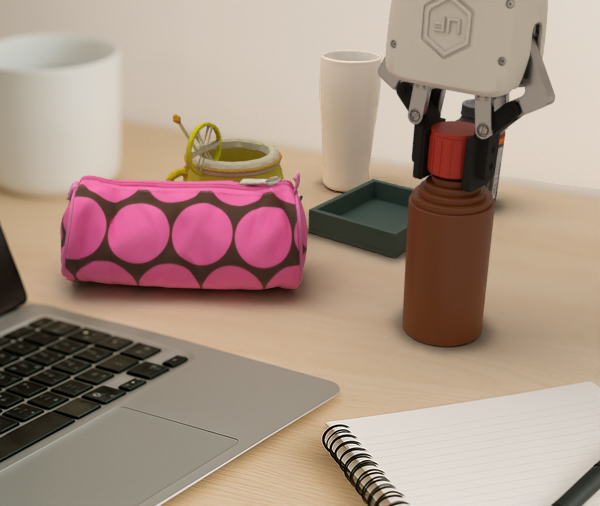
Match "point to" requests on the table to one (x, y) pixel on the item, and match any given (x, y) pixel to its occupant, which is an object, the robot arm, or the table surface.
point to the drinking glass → (348, 115)
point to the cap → (448, 148)
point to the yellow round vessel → (226, 157)
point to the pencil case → (185, 233)
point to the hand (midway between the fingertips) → (451, 178)
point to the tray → (366, 217)
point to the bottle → (446, 261)
